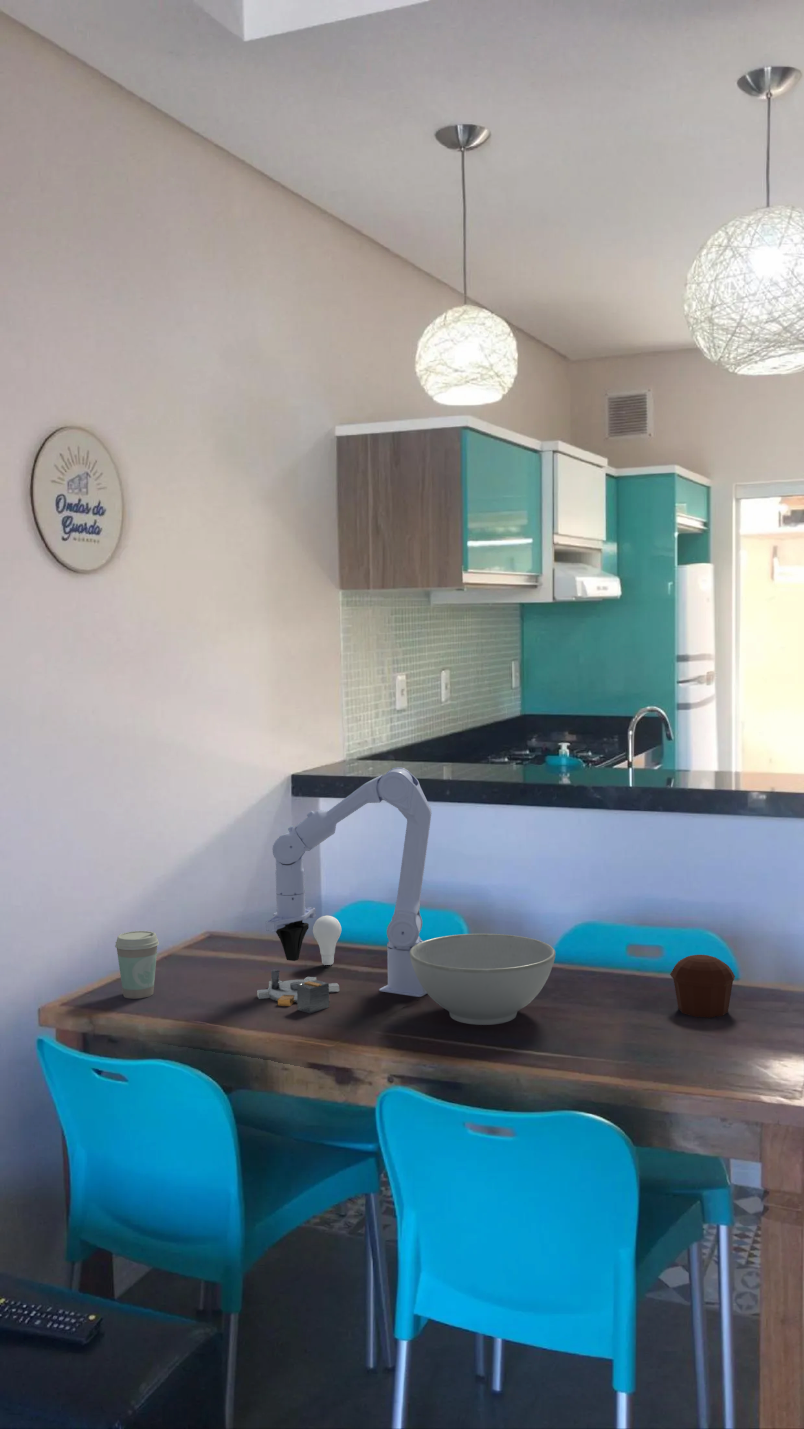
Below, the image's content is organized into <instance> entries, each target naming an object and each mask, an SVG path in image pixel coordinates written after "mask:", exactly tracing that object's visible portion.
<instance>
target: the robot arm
mask: <svg viewBox="0 0 804 1429" xmlns="http://www.w3.org/2000/svg"><path fill="white" fill-rule="evenodd" d="M383 800H384V801H385V802H386V803H388V804H389V805H391V806H393V807H395V808H396V809H397V810H398V811H399V812H400V813H401V814H402V815H403V817H404V818H405V819H406V829H405V836H404V843H403V850H402V851H403V852H402V857H401V858H402V859H401V865H400V866H401V867H400V873H399V879H398V880H399V881H398V890H397V897H396V902H395V906H394V911H393V915H392V917H391V921H390V922H389V924H388V926H387V928H386V935H387V936H386V937H387V938H388V942H387V943H386V948H387V949H386V951H387V952H386V953H387V954H386V955H387V958H386V960H387V985H384V986H383V987H381V988H379V989H378V990H379V992H383V993H384V992H385V993H390V994H397V995H404V996H410V997H417V998H418V997H419V998H420V997H424V996H425V995H428V994H427V992H426V991H425V990H424V988H423V987H422V985H421V983H420V982H419V980H418V978H417V976H416V973H415V971H414V968H413V966H412V963H411V959H410V950H411V948H412V947H413V946H415V945H416V944H418V943H421V942H423V941H424V940H422V938H421V937H420V932H421V931H422V927H423V919H422V916H421V913H420V912H421V911H420V910H421V909H420V908H421V895H422V889H423V888H422V886H423V880H424V873H425V872H424V871H425V865H426V858H427V857H426V856H427V850H428V843H429V834H430V828H431V822H432V808H431V806H430V804H429V802H428V800H427V798H426V796H425V794H424V791H423V789H422V787H421V785H420V782H419V780H418V778H416V776H414V774H412V773H411V771H409V770H408V769H406V768H404V767H400V766H399V767H398V766H397V767H393V768H391V769H390V770H388V771H386V773H384V774H383V773H382V774H380V775H379V776H377V777H374V778H373V779H371V780H369V781H367V782H365V783H364V784H362V785H360V786H359V787H358V788H356V790H354V791H353V792H352V793H350V794H349V795H347V796H346V797H345V798H344V799H342V800H341V801H340V802H338V803H337V804H336V805H334V806H333V807H331V808H330V809H329V810H322V809H317V810H316V811H314V810H310V812H308V813H306V818H305V819H303V820H302V821H300V822H299V823H297V824H296V825H291V826H289V827H288V828H287V830H288V832H286V833H283V834H282V835H279V837H278V838H277V839H276V840H275V841H274V843H273V845H272V855H273V858H275V893H276V895H275V896H276V899H275V900H276V912H274V913H272V918H270V919H269V920H266V921H265V932H272V933H276V935H277V936H278V938H279V940H280V943H281V945H282V948H283V952H284V956H285V958H286V961H291V962H295V961H299V959H300V958H299V957H300V954H301V948H302V944H303V941H304V939H305V935H306V933H308V932H307V931H308V929H309V927H310V926H309V923H307V922H303V921H305V920H308V919H314V918H316V917H317V914H316V907H310V906H307V907H306V892H305V890H306V888H305V884H306V883H305V869H304V857H303V856H304V855H305V854H306V851H307V852H310V851H311V850H313V849H314V848H316V847H317V846H319V845H320V844H321V843H323V842H324V841H325V840H327V839H329V838H330V837H331V836H333V835H334V834H335V833H336V829H337V824H338V823H339V822H341V821H343V820H344V819H345V818H348V817H349V816H350V815H351V814H354V812H357V811H358V810H360V809H361V808H363V807H364V806H365V805H367V804H375V803H376V804H377V803H382V801H383Z"/></svg>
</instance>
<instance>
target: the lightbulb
mask: <svg viewBox="0 0 804 1429" xmlns="http://www.w3.org/2000/svg"><path fill="white" fill-rule="evenodd" d="M312 933H313V937H314V939H315V940H316V943H317V944H318V947H319V951H320V952H319V954H320V955H321V964H322V965H324V966H325V965H330V966H331V965H333V964H334V961H335V959H334V958H335V953H336V946H337V942H339V941H338V940H339V938H340V936H341V933H342V926H341V923H340V922H339V920H338V919H337V918H336V917H335V916H332V915H322V916H320V917H319V918H317V919H316V920H315V922H314V924H313V927H312Z"/></svg>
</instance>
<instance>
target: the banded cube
mask: <svg viewBox="0 0 804 1429" xmlns="http://www.w3.org/2000/svg"><path fill="white" fill-rule="evenodd" d="M329 984H330V983H329V982H326V981H322V980H318V979H316V980H315V981H311V982H310V981H308V982H304V984H301V985H298V986H297V1002H298V1003H297V1011H300V1012H303V1013H307V1014H313V1013H317V1012H319V1011H322V1010H325V1009H328V1008H330V992H329Z"/></svg>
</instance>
